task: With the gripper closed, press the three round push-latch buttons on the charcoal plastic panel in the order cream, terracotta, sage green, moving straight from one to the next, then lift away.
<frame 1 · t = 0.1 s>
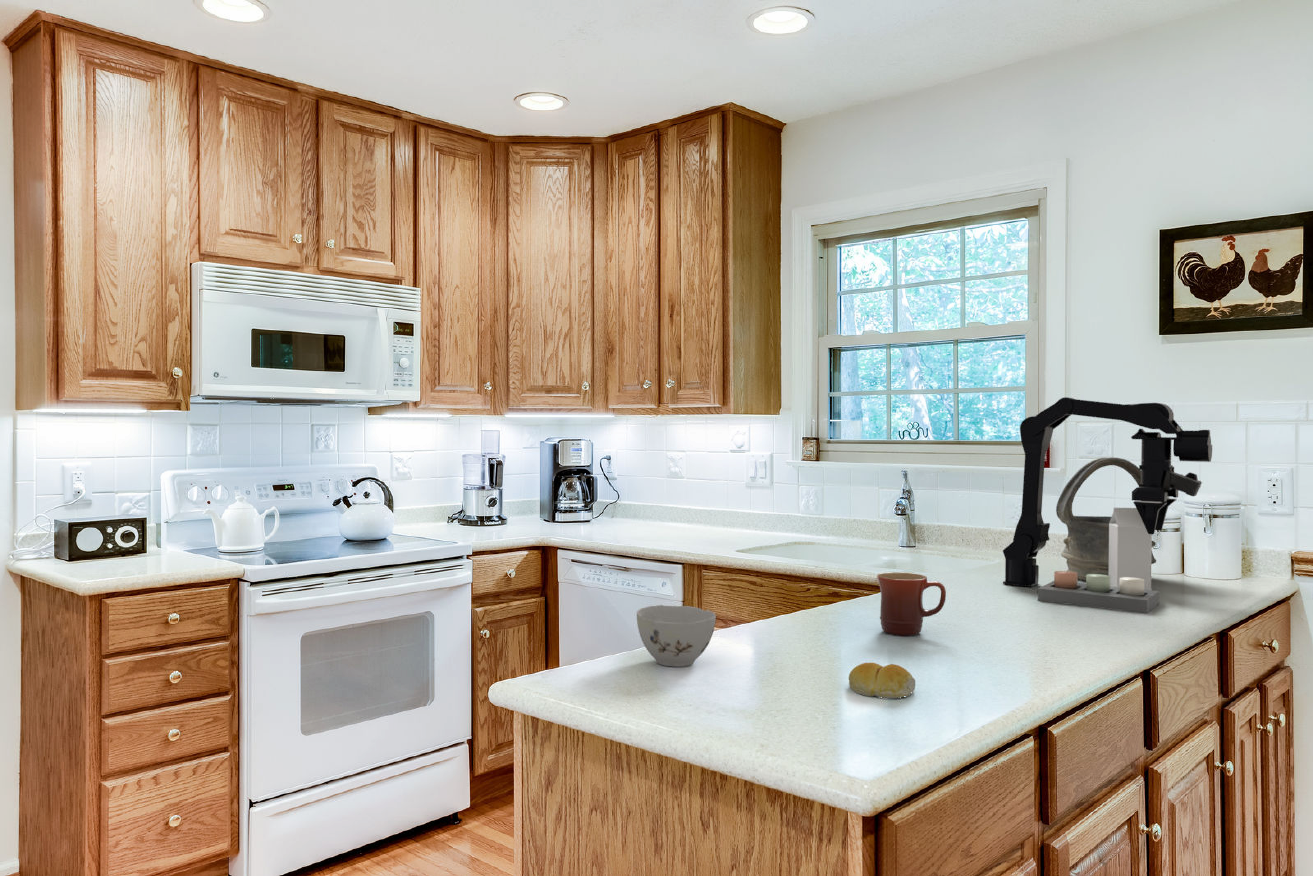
hand: (1155, 532, 201), 15 cm above the countertop, fingers open, 9 cm apart
milk carton: (1129, 591, 210), on the countertop
cream button: (1131, 586, 193), point 4 cm above the countertop, slide at 0.0 cm
panel: (1097, 601, 197), on the countertop
bread roll: (881, 693, 130), on the countertop
teacup: (678, 662, 146), on the countertop
mug: (910, 634, 166), on the countertop
terracotta button: (1065, 579, 201), point 4 cm above the countertop, slide at 0.0 cm
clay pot: (1107, 578, 229), on the countertop
sage button: (1098, 582, 197), point 4 cm above the countertop, slide at 0.0 cm
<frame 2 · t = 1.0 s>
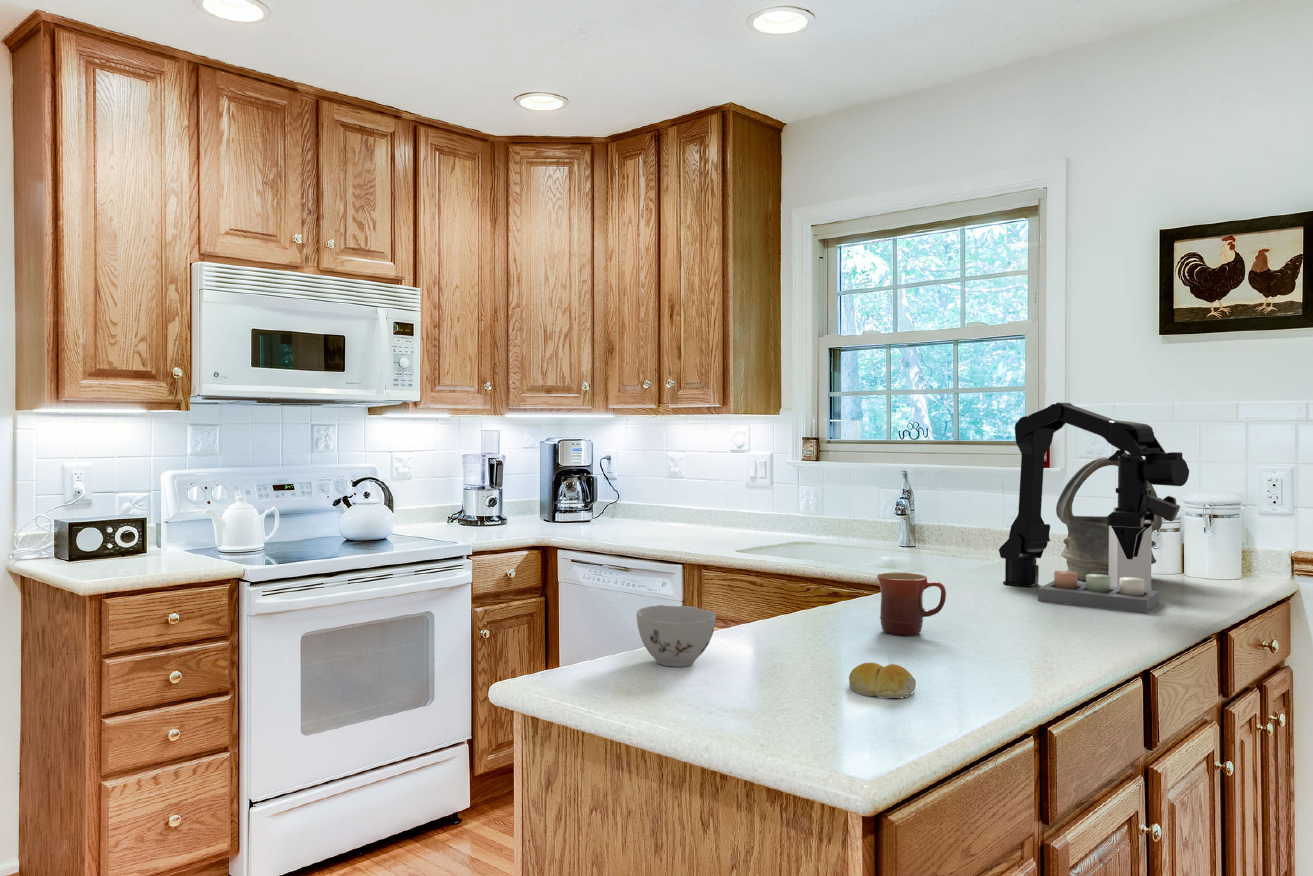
hand: (1132, 558, 193), 10 cm above the countertop, fingers open, 5 cm apart
nothing on the countertop moved.
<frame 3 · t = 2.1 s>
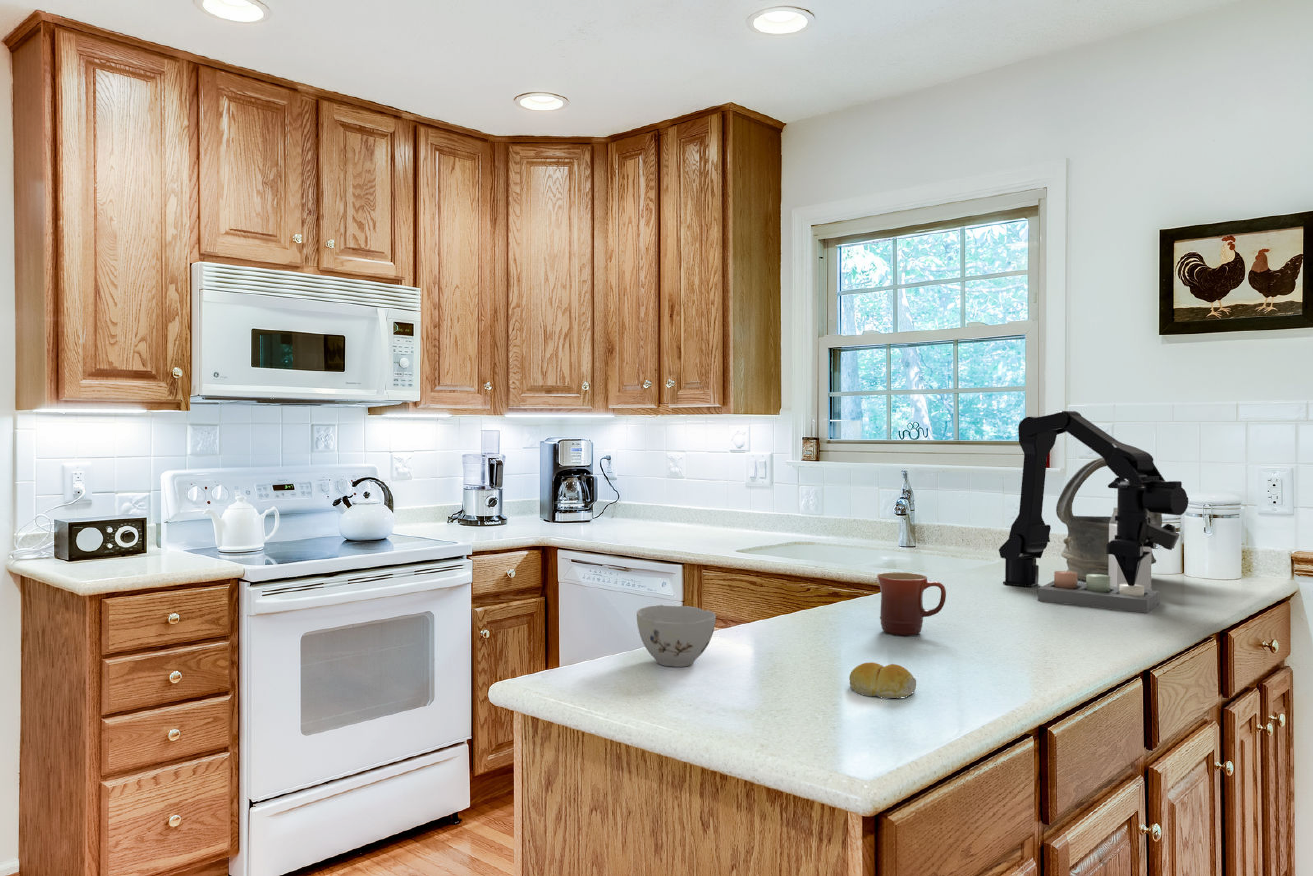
hand: (1131, 585, 193), 4 cm above the countertop, fingers closed, pressing on cream button
cream button: (1131, 592, 193), point 3 cm above the countertop, slide at -1.4 cm, touching gripper
everything else where it was.
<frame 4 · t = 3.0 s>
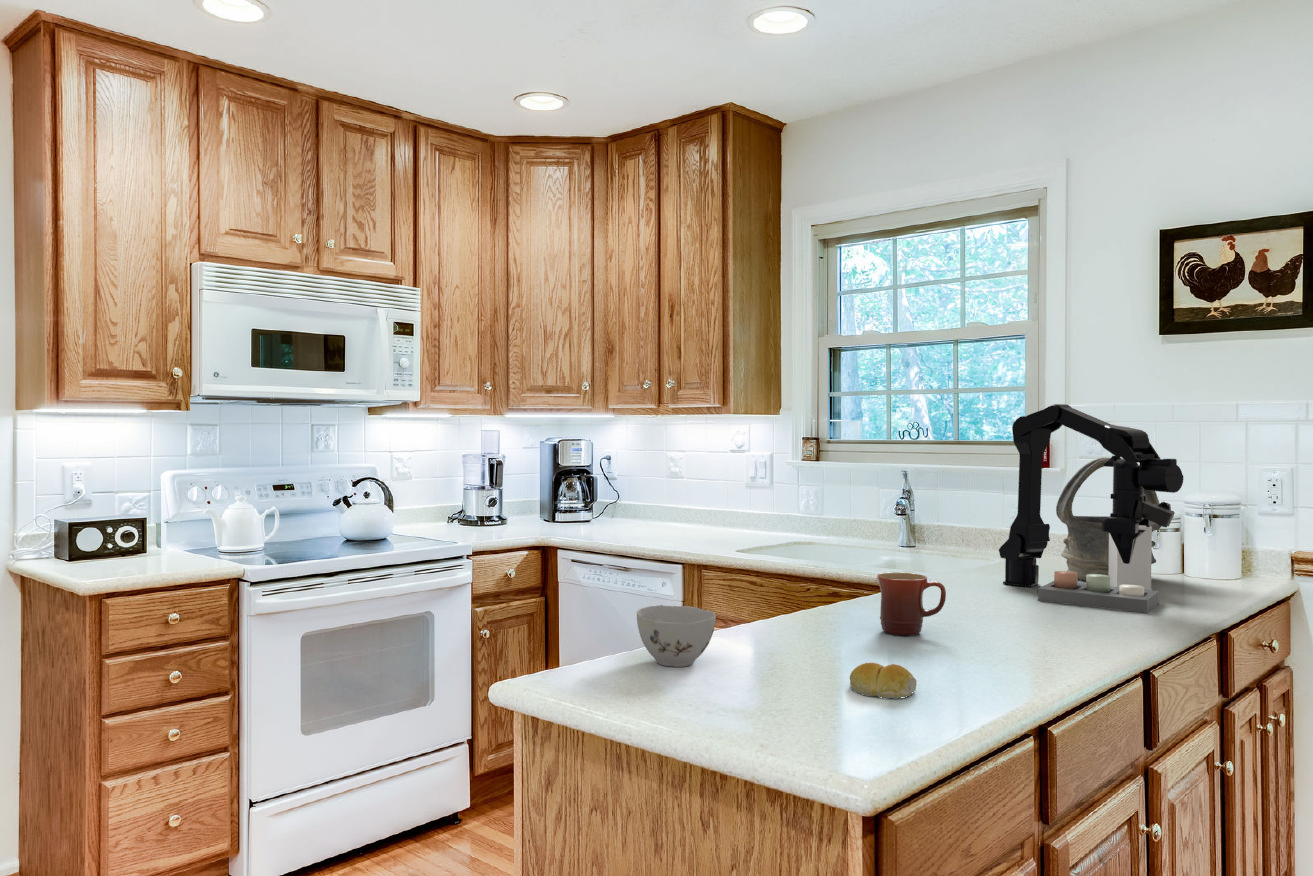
hand: (1126, 563, 194), 9 cm above the countertop, fingers closed
cream button: (1131, 593, 193), point 3 cm above the countertop, slide at -1.5 cm
everything else where it was.
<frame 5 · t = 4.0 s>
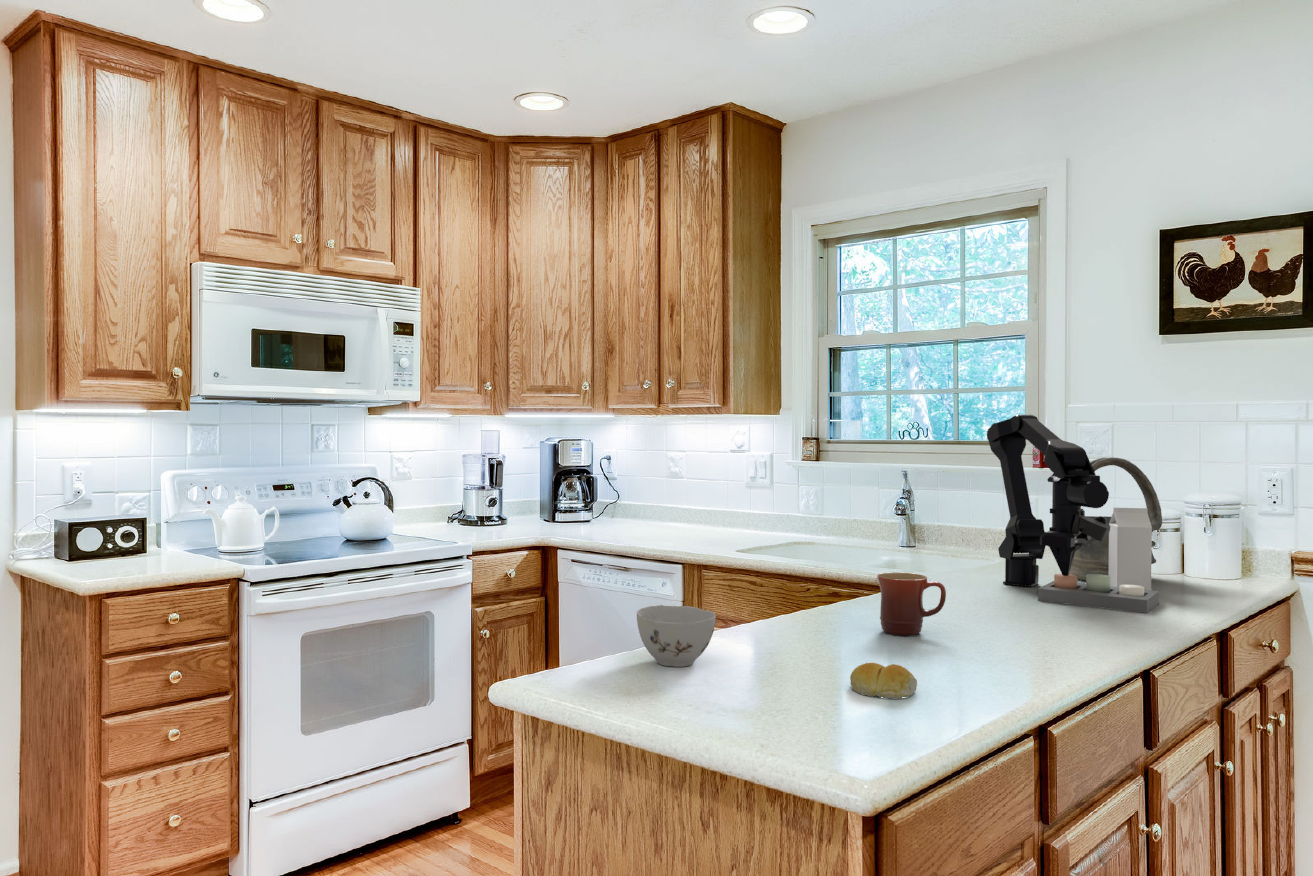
hand: (1065, 575, 201), 5 cm above the countertop, fingers closed, pressing on terracotta button
terracotta button: (1065, 582, 201), point 3 cm above the countertop, slide at -0.7 cm, touching gripper
everything else where it was.
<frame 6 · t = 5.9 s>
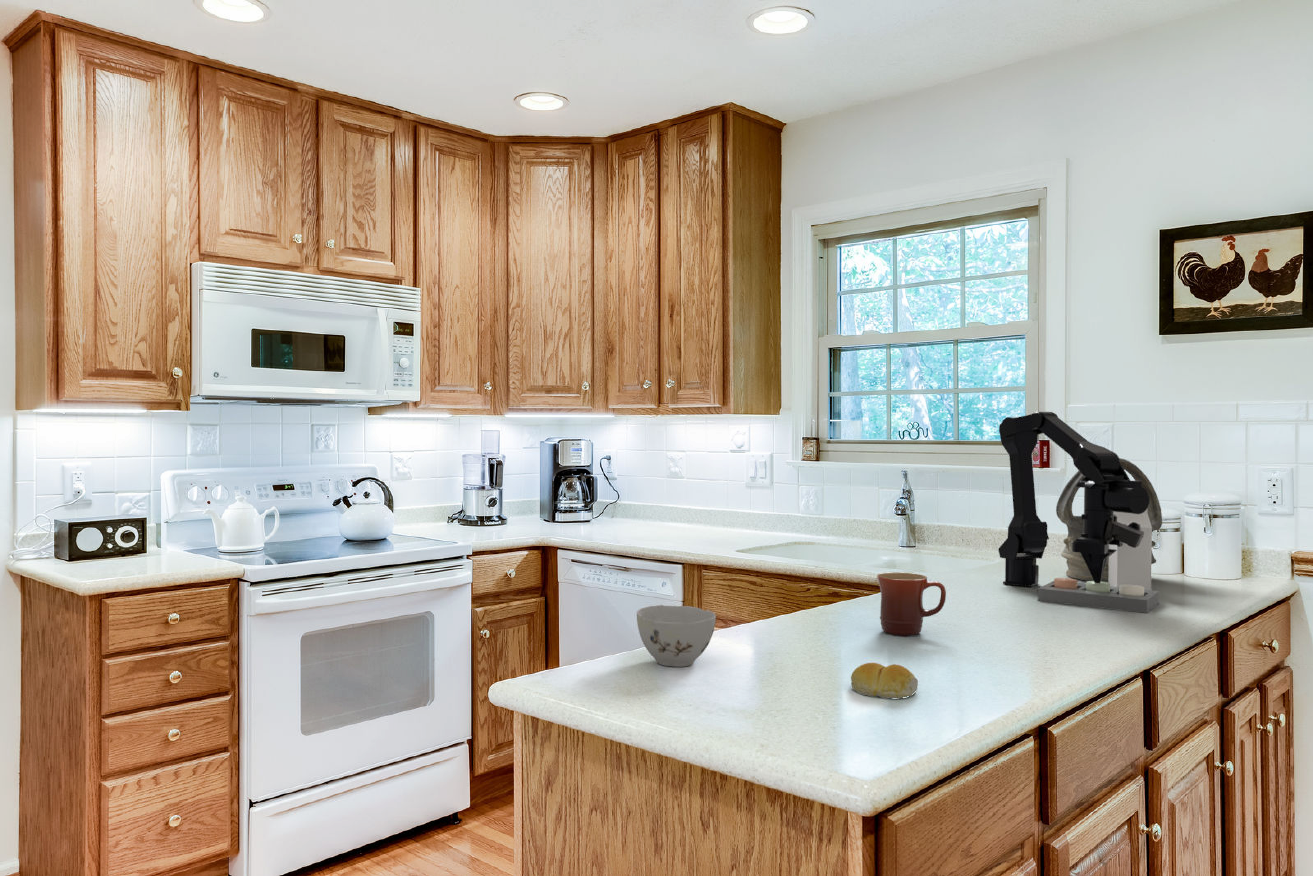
hand: (1097, 582, 197), 4 cm above the countertop, fingers closed, pressing on sage button
terracotta button: (1065, 586, 201), point 3 cm above the countertop, slide at -1.6 cm
sage button: (1098, 589, 197), point 3 cm above the countertop, slide at -1.5 cm, touching gripper
everything else where it was.
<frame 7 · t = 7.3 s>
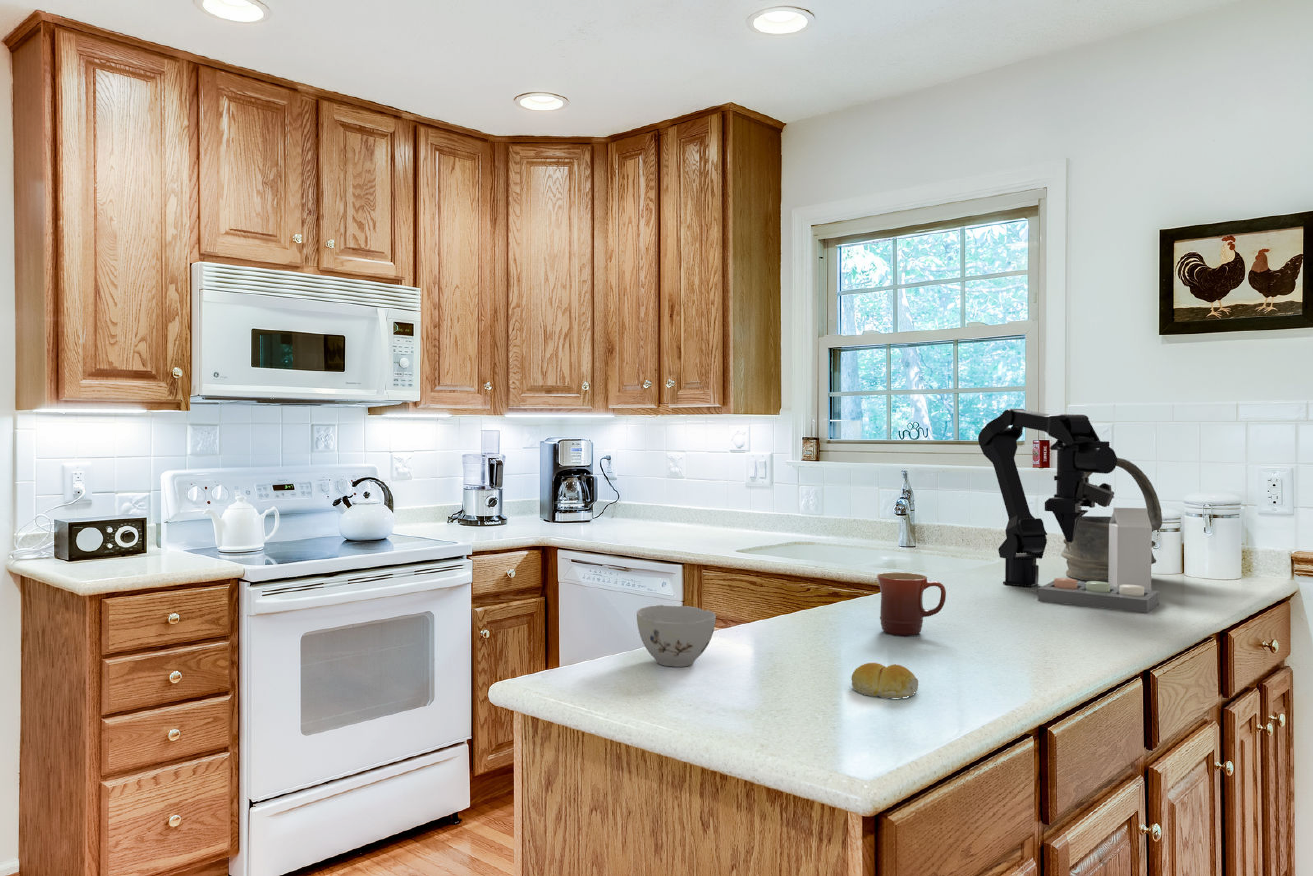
hand: (1069, 542, 203), 12 cm above the countertop, fingers closed
sage button: (1098, 590, 197), point 3 cm above the countertop, slide at -1.6 cm
everything else where it was.
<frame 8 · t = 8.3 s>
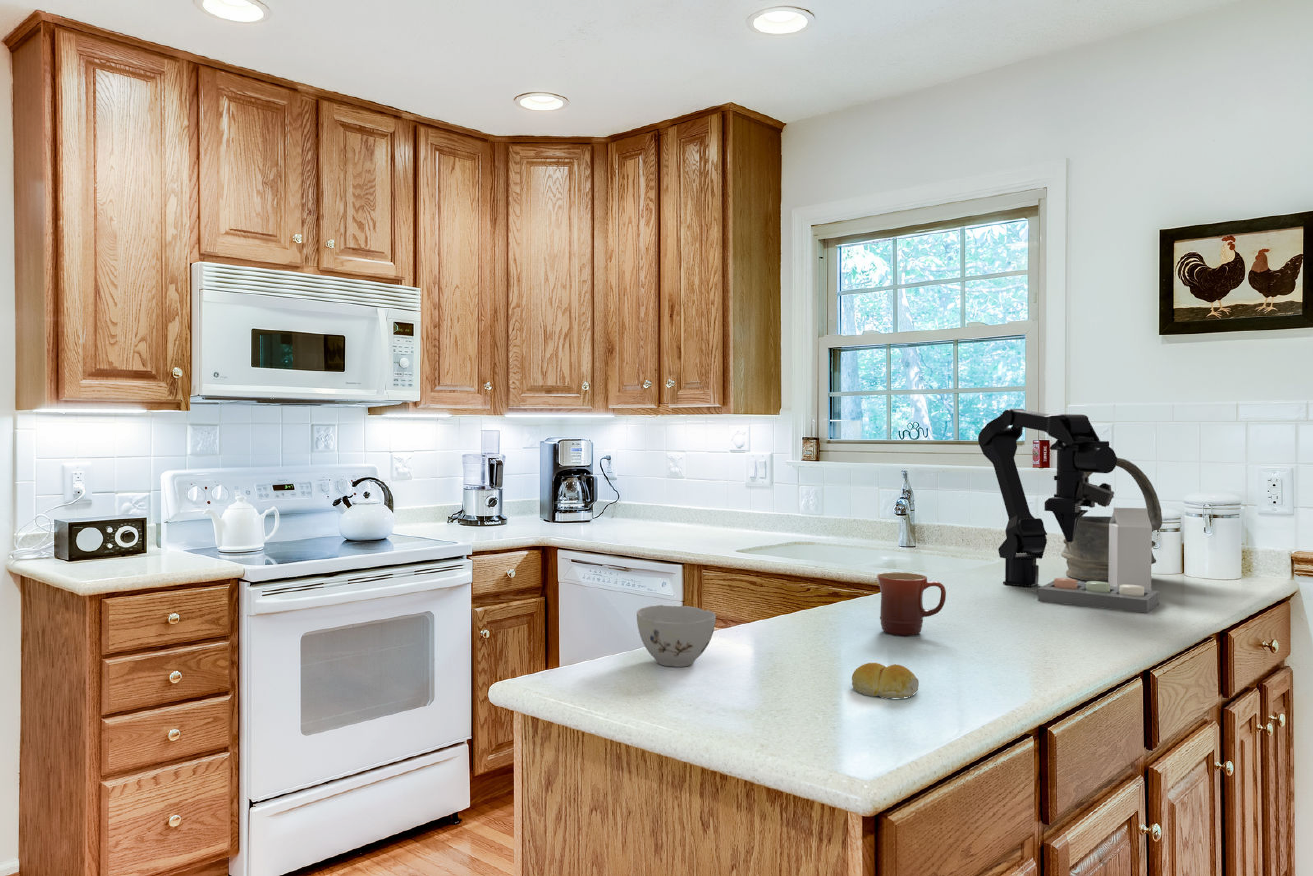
hand: (1069, 542, 203), 12 cm above the countertop, fingers closed
nothing on the countertop moved.
at the end: cream button slide at -1.5 cm; terracotta button slide at -1.6 cm; sage button slide at -1.6 cm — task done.
